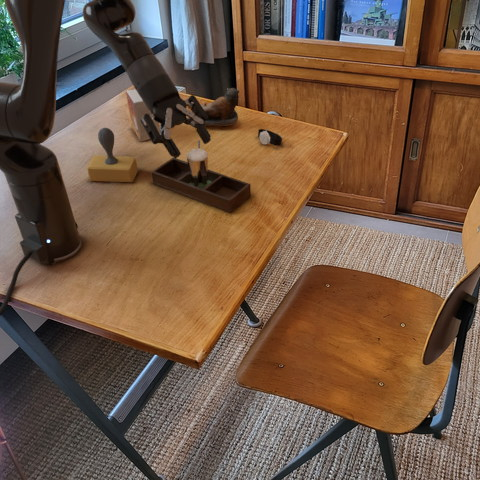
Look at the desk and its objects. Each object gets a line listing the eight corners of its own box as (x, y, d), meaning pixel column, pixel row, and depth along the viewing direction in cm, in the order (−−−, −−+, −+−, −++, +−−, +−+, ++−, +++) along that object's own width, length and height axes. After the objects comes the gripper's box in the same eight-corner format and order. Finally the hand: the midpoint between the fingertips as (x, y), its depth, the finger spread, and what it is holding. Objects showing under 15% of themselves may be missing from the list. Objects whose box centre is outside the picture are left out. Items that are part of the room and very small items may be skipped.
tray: (230, 213, 124) (229, 200, 122) (153, 184, 133) (151, 171, 131) (250, 196, 129) (250, 184, 127) (174, 169, 138) (173, 157, 136)
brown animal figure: (193, 129, 153) (190, 92, 146) (199, 117, 158) (195, 81, 151) (239, 131, 152) (237, 94, 145) (242, 119, 157) (241, 83, 151)
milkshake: (213, 180, 132) (209, 140, 126) (208, 193, 128) (204, 153, 122) (193, 179, 133) (188, 139, 126) (188, 192, 129) (183, 151, 122)
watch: (253, 139, 149) (252, 126, 146) (267, 133, 151) (267, 120, 149) (272, 150, 144) (272, 137, 142) (286, 144, 147) (287, 131, 144)
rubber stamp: (138, 170, 137) (129, 123, 129) (132, 183, 133) (122, 135, 125) (97, 168, 138) (85, 121, 130) (89, 181, 134) (77, 134, 126)
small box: (132, 128, 153) (125, 90, 146) (152, 124, 155) (146, 86, 148) (140, 142, 148) (132, 102, 141) (161, 137, 149) (155, 98, 143)
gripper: (130, 84, 116) (174, 154, 118) (184, 64, 124) (225, 130, 126) (119, 101, 122) (161, 168, 124) (171, 81, 130) (210, 144, 132)
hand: (193, 149), depth 125 cm, fingers open, 8 cm apart
